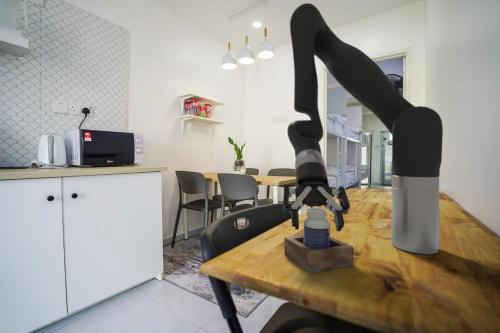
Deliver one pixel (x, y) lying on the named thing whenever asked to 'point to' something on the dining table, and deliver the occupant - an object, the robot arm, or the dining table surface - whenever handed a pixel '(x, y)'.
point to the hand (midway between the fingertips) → (318, 228)
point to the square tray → (319, 254)
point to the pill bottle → (316, 229)
